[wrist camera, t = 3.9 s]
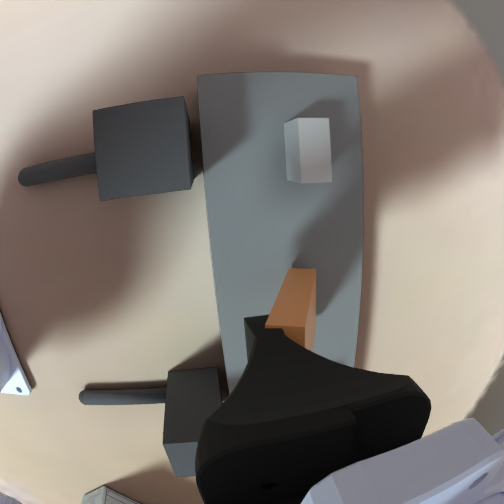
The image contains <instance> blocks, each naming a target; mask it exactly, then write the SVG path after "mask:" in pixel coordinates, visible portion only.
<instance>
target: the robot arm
mask: <svg viewBox="0 0 504 504" xmlns="http://www.w3.org/2000/svg"><path fill="white" fill-rule="evenodd" d="M268 317H269V314H268V315H261V316H253V317H246V318H244V328H245V339H246V350H247V360H248V363H247V365H246V367H245V370H244V372H243V374H242V376H241V377H240V379H239V381H238V383H237V384H236V386H235V388H234V389H233V391H232V392H231V393H230V394H229V396H228V397H227V398H226V400H225V401H224V402H223V403H222V404H221V406H220V407H219V408H218V409H217V410H216V411H215V412H214V413H213V414H211V415H210V416H209V417H208V418H207V419H206V420H205V421H204V424H203V427H202V430H201V433H200V437H199V441H198V445H197V449H196V456H195V473H196V483H197V487H198V489H199V492H200V494H201V497H202V499H203V502H204V504H504V429H503V430H501V431H500V432H498V433H497V434H495V435H494V436H492V437H491V435H489V433H488V432H487V431H486V430H485V429H484V428H483V427H482V426H481V425H480V424H479V423H478V422H477V421H476V420H475V419H474V418H470V419H466V420H462V421H459V422H455V423H453V424H451V425H449V426H447V427H445V428H443V429H440V430H438V431H436V432H434V433H432V434H430V435H427V436H425V437H423V438H421V437H422V435H423V432H424V430H425V427H426V424H427V422H428V419H429V416H430V411H431V402H430V399H429V398H428V396H427V395H426V394H425V393H424V392H423V390H422V389H421V388H420V387H419V386H418V385H417V384H416V383H415V382H414V381H413V380H412V379H411V378H410V377H409V376H406V375H395V374H385V373H377V372H372V371H367V370H362V369H358V368H354V367H350V366H347V365H344V364H341V363H338V362H335V361H332V360H329V359H327V358H325V357H322V356H320V355H318V354H316V353H314V352H312V351H310V350H308V349H306V348H304V347H303V346H301V345H299V344H298V343H296V342H294V341H293V340H291V339H290V338H288V337H287V336H286V335H285V334H284V331H283V329H282V328H265V324H266V321H267V319H268ZM20 388H21V389H20ZM31 392H32V389H31V386H30V384H29V382H28V380H27V378H26V376H25V374H24V371H23V369H22V367H21V365H20V362H19V360H18V358H17V355H16V353H15V350H14V348H13V345H12V343H11V340H10V338H9V335H8V333H7V330H6V327H5V324H4V321H3V319H2V316H1V313H0V393H8V394H18V395H30V393H31ZM0 504H22V503H21V502H19V501H18V500H16V499H14V498H12V497H10V496H7V495H4V494H0Z"/></svg>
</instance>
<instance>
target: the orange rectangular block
mask: <svg viewBox="0 0 504 504" xmlns="http://www.w3.org/2000/svg"><path fill="white" fill-rule="evenodd" d="M265 328H282V329H283V331H284V334H285V335H286V336H287V337H288V338H290V339H291V340H293V341H294V342H296V343H298V344H299V345H301V346H303V347H304V348H306V349H308V350H310V351H312V349H313V342H314V336H315V329H316V269H302V268H289V269H288V272H287V274H286V276H285V279H284V281H283V284H282V286H281V288H280V291H279V293H278V296H277V298H276V300H275V303H274V305H273V307H272V310H271V312H270V314H269V317H268V319H267V321H266V324H265Z"/></svg>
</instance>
